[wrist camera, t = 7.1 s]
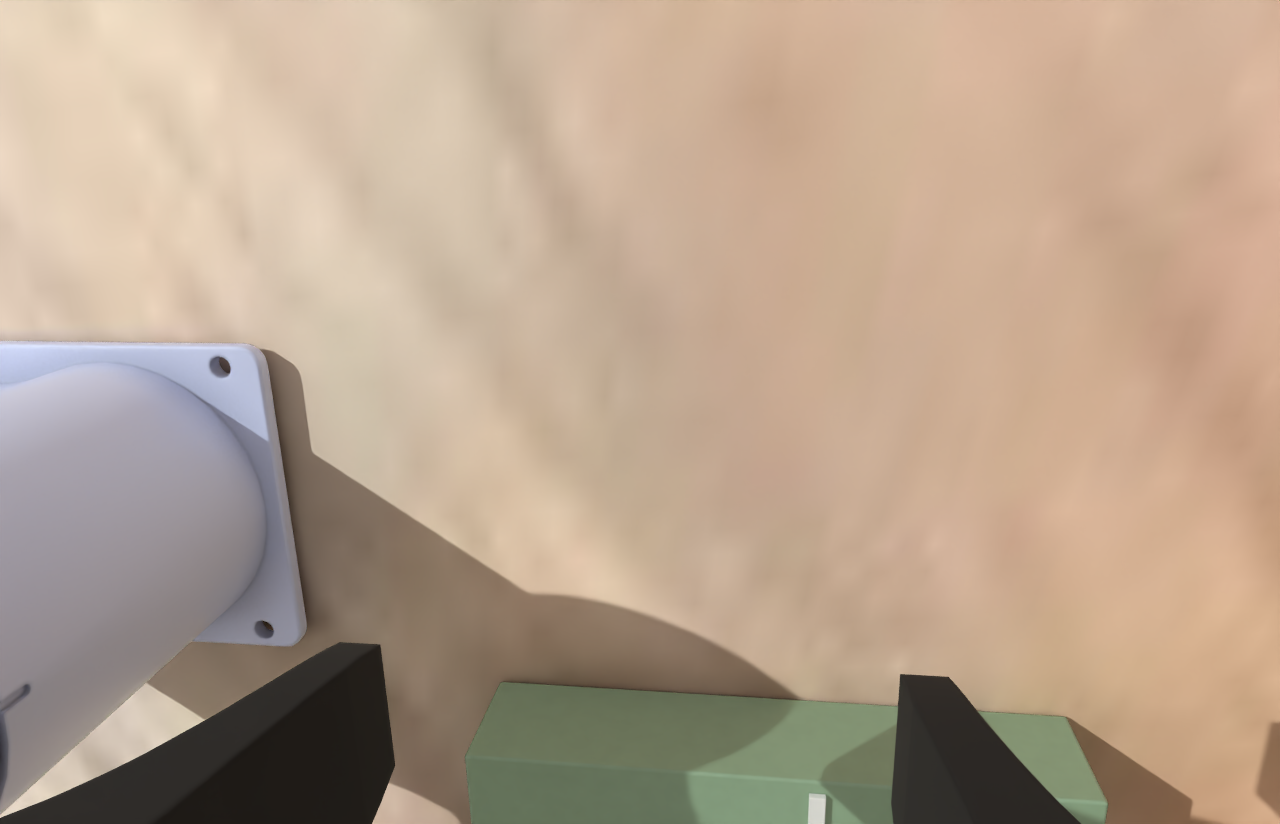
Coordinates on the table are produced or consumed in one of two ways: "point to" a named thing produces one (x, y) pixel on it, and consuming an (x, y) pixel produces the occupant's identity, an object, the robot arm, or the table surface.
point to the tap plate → (719, 759)
